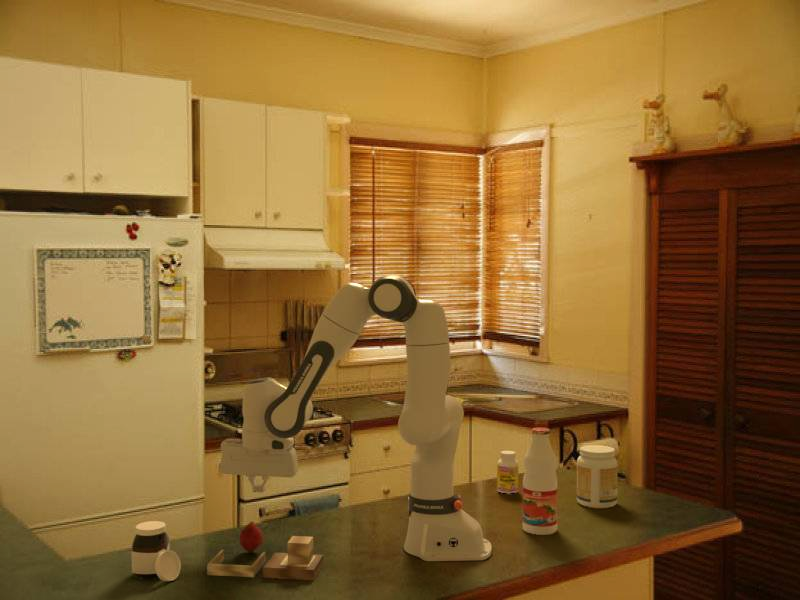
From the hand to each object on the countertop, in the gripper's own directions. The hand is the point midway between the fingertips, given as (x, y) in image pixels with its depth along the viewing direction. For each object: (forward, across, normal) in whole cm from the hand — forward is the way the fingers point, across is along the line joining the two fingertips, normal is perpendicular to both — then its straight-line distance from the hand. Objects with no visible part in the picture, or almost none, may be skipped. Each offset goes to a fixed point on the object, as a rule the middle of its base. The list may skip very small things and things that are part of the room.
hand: (258, 491), depth 222 cm
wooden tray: (+13, +8, -19) cm, 24 cm away
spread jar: (+14, -16, -26) cm, 34 cm away
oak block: (+10, +16, -19) cm, 27 cm away
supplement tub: (+12, +92, +48) cm, 104 cm away
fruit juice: (+12, +74, +20) cm, 77 cm away
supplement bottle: (+13, +64, +57) cm, 87 cm away
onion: (+13, +1, -8) cm, 16 cm away
